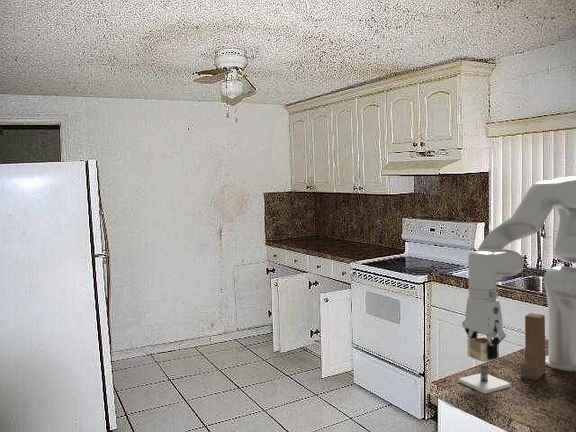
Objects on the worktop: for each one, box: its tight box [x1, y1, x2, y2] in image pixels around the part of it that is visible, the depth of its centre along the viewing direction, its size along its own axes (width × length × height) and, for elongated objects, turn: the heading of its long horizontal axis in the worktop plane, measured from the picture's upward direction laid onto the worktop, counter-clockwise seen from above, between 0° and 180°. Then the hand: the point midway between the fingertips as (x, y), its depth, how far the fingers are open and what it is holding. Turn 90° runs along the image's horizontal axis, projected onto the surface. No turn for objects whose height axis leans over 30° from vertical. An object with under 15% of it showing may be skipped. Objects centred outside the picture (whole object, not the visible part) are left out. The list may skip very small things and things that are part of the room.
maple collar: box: [466, 335, 500, 363], centre depth 141 cm, size 6×6×5 cm
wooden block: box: [520, 312, 546, 382], centre depth 147 cm, size 9×4×18 cm, turn 136°
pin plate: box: [458, 364, 512, 395], centre depth 141 cm, size 10×10×6 cm
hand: (483, 354), depth 141 cm, fingers closed on maple collar, 6 cm apart
